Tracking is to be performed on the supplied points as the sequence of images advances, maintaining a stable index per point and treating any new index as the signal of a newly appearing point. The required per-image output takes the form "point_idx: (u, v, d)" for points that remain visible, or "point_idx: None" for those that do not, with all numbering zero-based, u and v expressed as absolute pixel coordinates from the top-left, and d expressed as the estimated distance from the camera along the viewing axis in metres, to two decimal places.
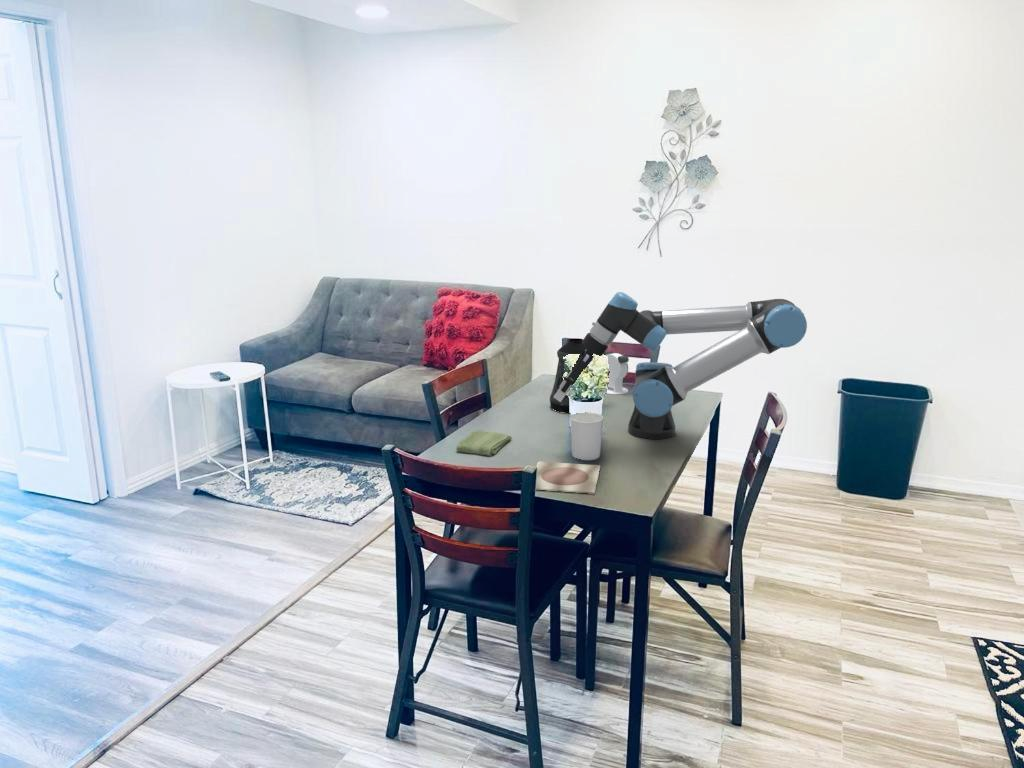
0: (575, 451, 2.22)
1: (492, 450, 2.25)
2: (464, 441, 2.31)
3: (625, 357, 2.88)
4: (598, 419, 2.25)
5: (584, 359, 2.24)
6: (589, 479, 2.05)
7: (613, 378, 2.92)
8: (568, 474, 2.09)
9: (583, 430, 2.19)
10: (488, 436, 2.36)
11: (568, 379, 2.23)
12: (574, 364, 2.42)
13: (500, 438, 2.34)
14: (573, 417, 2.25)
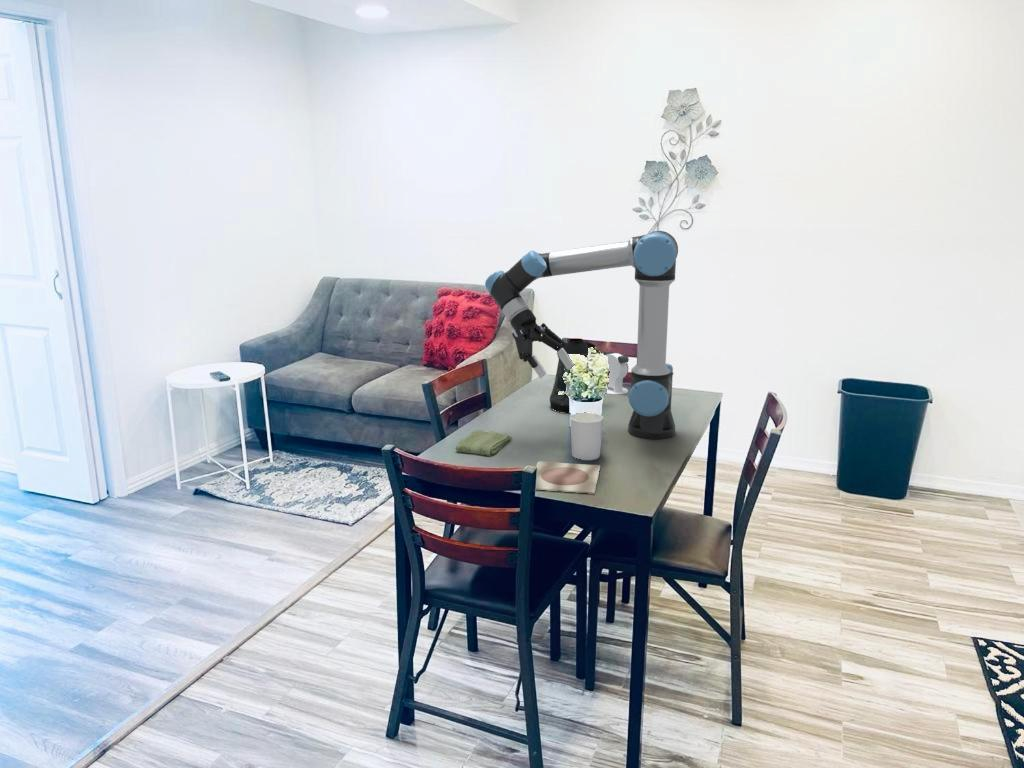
0: (575, 451, 2.22)
1: (492, 450, 2.25)
2: (464, 441, 2.31)
3: (625, 357, 2.88)
4: (598, 419, 2.25)
5: (515, 335, 2.25)
6: (589, 479, 2.05)
7: (613, 378, 2.92)
8: (568, 474, 2.09)
9: (583, 430, 2.19)
10: (488, 436, 2.36)
11: (520, 356, 2.21)
12: None
13: (500, 438, 2.34)
14: (573, 417, 2.25)
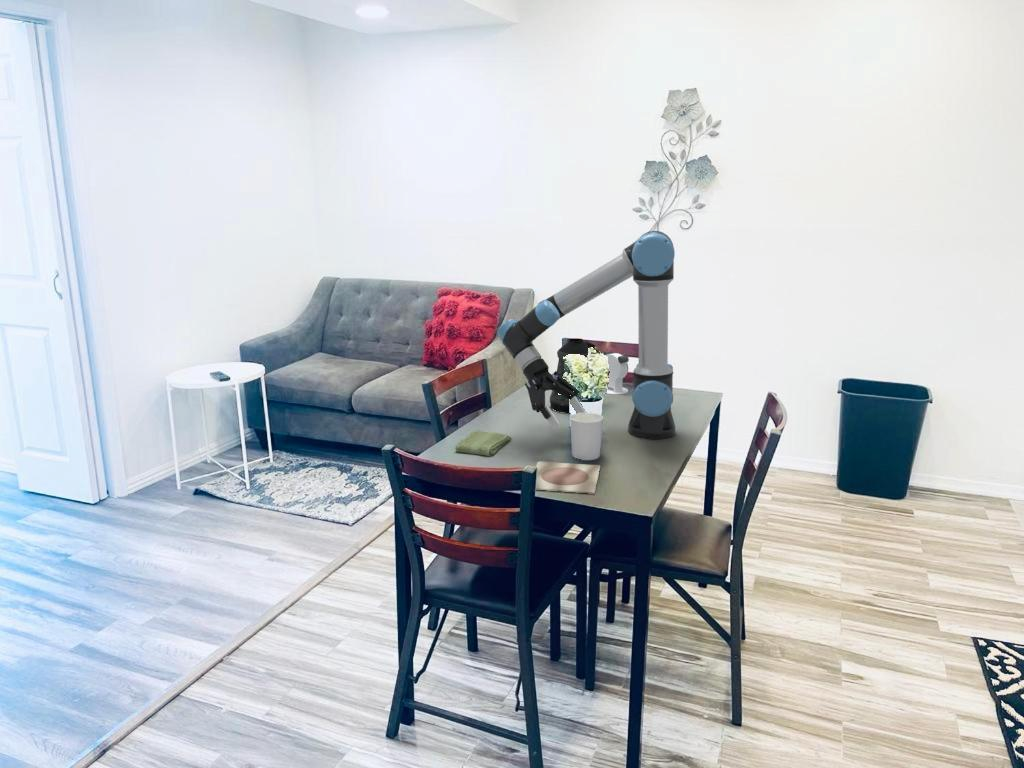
0: (575, 451, 2.22)
1: (491, 450, 2.25)
2: (463, 441, 2.31)
3: (625, 357, 2.88)
4: (598, 419, 2.25)
5: (528, 385, 2.25)
6: (589, 479, 2.05)
7: (613, 378, 2.92)
8: (568, 474, 2.09)
9: (583, 430, 2.19)
10: (487, 436, 2.35)
11: (533, 407, 2.21)
12: None
13: (499, 438, 2.34)
14: (573, 417, 2.25)
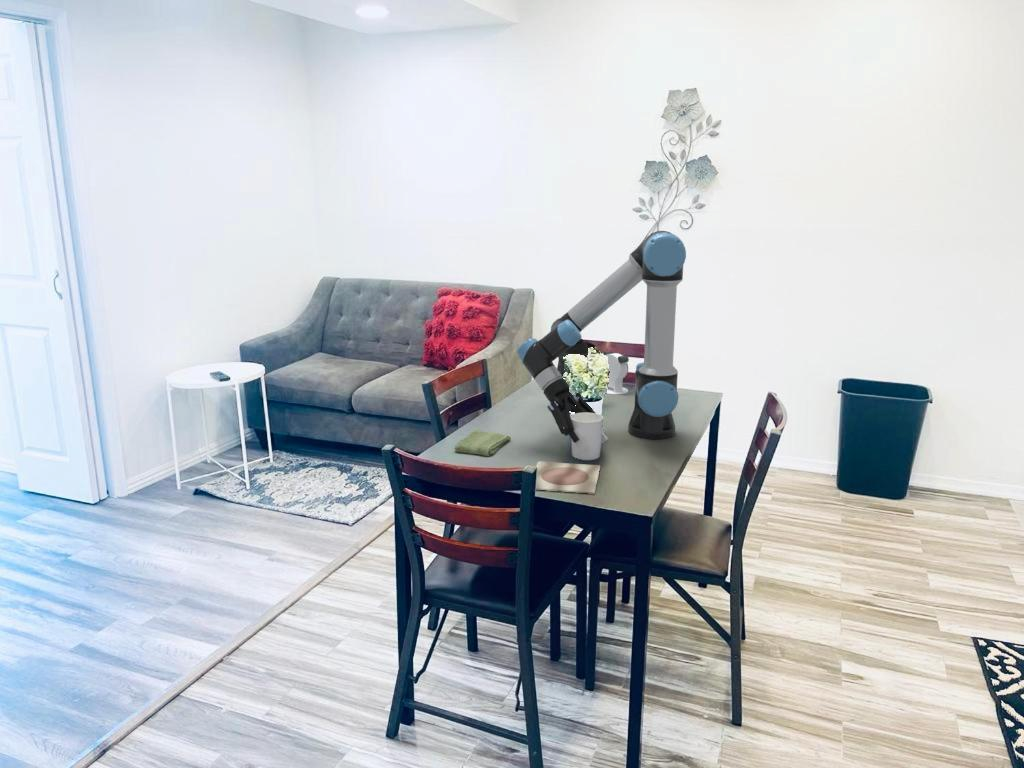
0: (575, 451, 2.22)
1: (490, 450, 2.25)
2: (463, 441, 2.31)
3: (625, 357, 2.88)
4: (598, 419, 2.25)
5: (551, 408, 2.22)
6: (589, 479, 2.05)
7: (613, 378, 2.92)
8: (568, 474, 2.09)
9: (583, 430, 2.19)
10: (487, 436, 2.35)
11: (561, 431, 2.19)
12: None
13: (499, 438, 2.33)
14: (573, 417, 2.25)
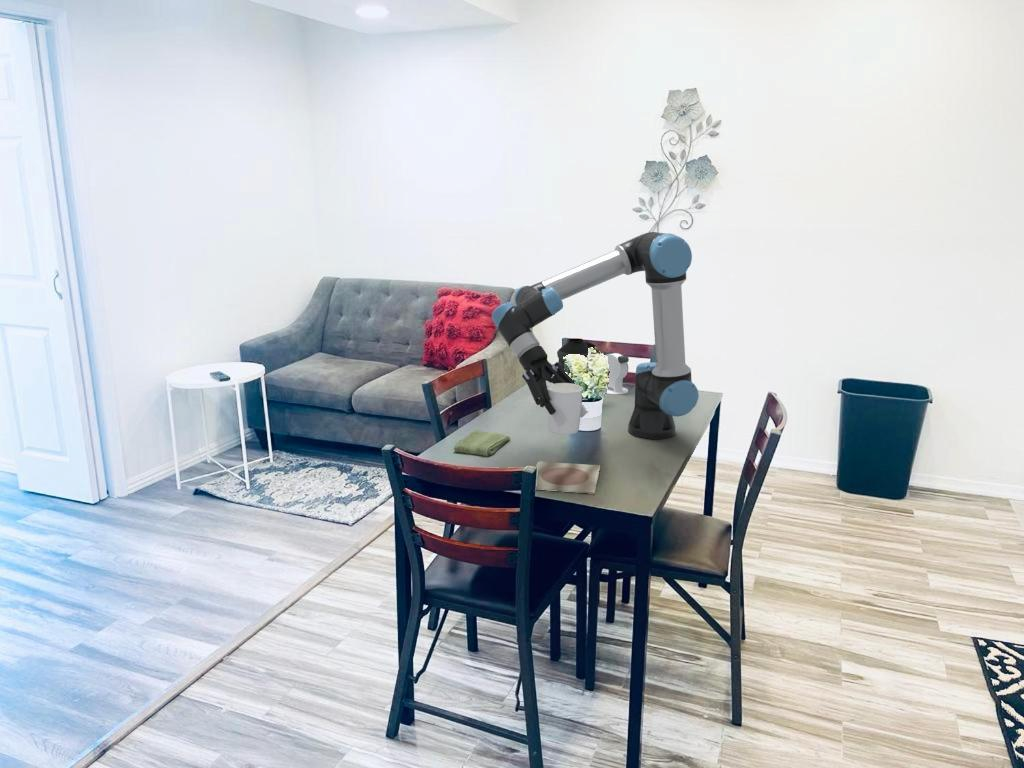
0: (551, 424, 2.04)
1: (489, 450, 2.25)
2: (462, 441, 2.31)
3: (625, 357, 2.88)
4: (578, 390, 2.06)
5: (526, 377, 2.03)
6: (589, 479, 2.05)
7: (613, 378, 2.92)
8: (568, 474, 2.09)
9: (561, 401, 2.00)
10: (486, 436, 2.35)
11: (537, 402, 2.00)
12: None
13: (498, 438, 2.33)
14: (550, 387, 2.07)
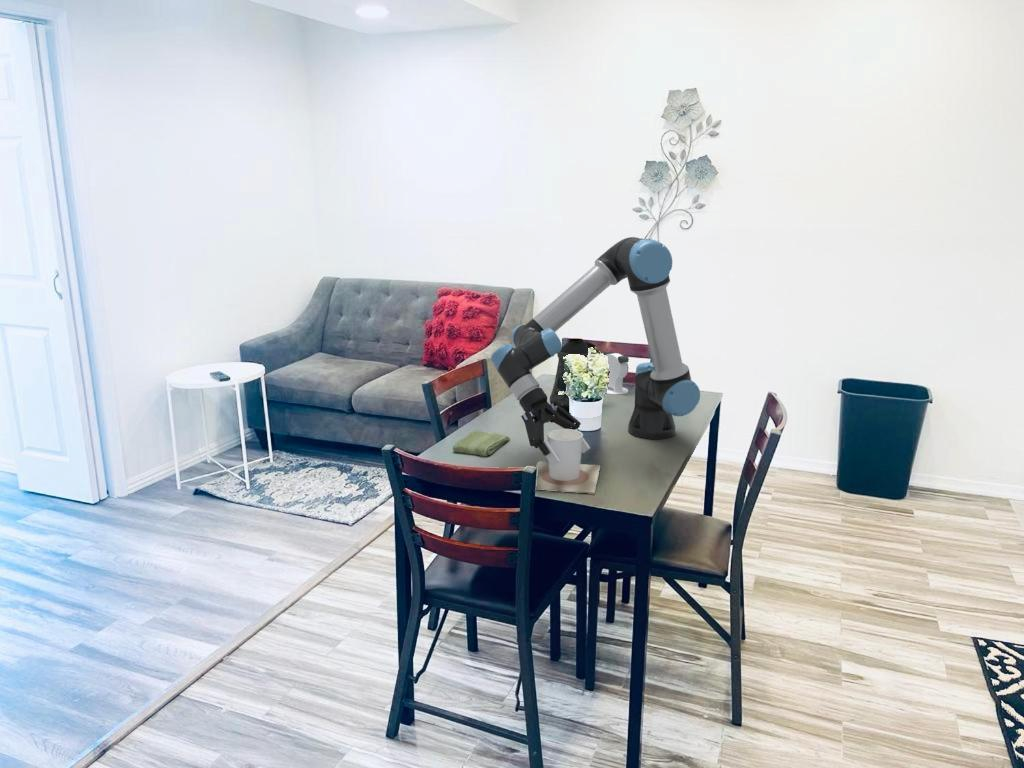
0: (552, 471, 2.05)
1: (488, 450, 2.25)
2: (461, 441, 2.31)
3: (625, 357, 2.88)
4: (577, 436, 2.08)
5: (525, 418, 2.04)
6: (589, 479, 2.05)
7: (613, 378, 2.92)
8: None
9: (561, 449, 2.01)
10: (486, 436, 2.35)
11: (531, 443, 2.00)
12: None
13: (497, 439, 2.33)
14: (550, 434, 2.08)
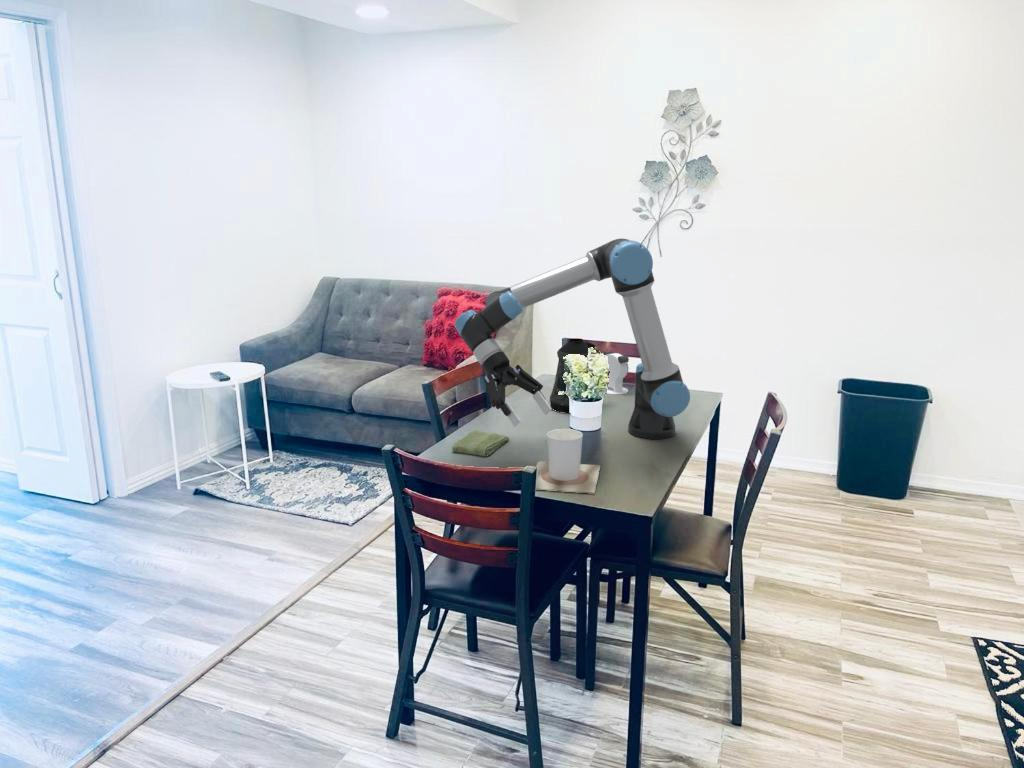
0: (552, 471, 2.05)
1: (487, 451, 2.25)
2: (460, 441, 2.31)
3: (625, 357, 2.88)
4: (577, 436, 2.08)
5: (487, 380, 2.10)
6: (589, 479, 2.05)
7: (613, 378, 2.92)
8: None
9: (561, 449, 2.01)
10: (485, 437, 2.35)
11: (492, 404, 2.06)
12: None
13: (497, 439, 2.33)
14: (550, 434, 2.08)
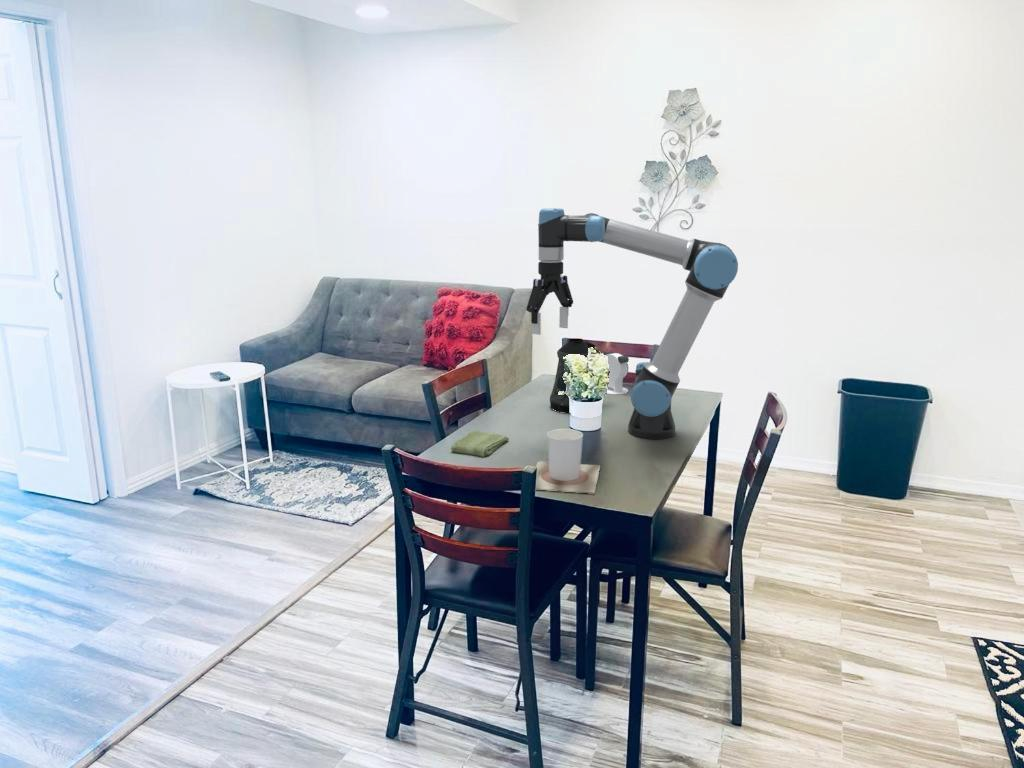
0: (552, 471, 2.05)
1: (486, 451, 2.25)
2: (459, 441, 2.31)
3: (625, 357, 2.88)
4: (578, 436, 2.08)
5: (535, 284, 2.23)
6: (589, 479, 2.05)
7: (613, 378, 2.92)
8: None
9: (561, 449, 2.01)
10: (484, 437, 2.35)
11: (527, 308, 2.23)
12: None
13: (496, 439, 2.33)
14: (551, 434, 2.08)
